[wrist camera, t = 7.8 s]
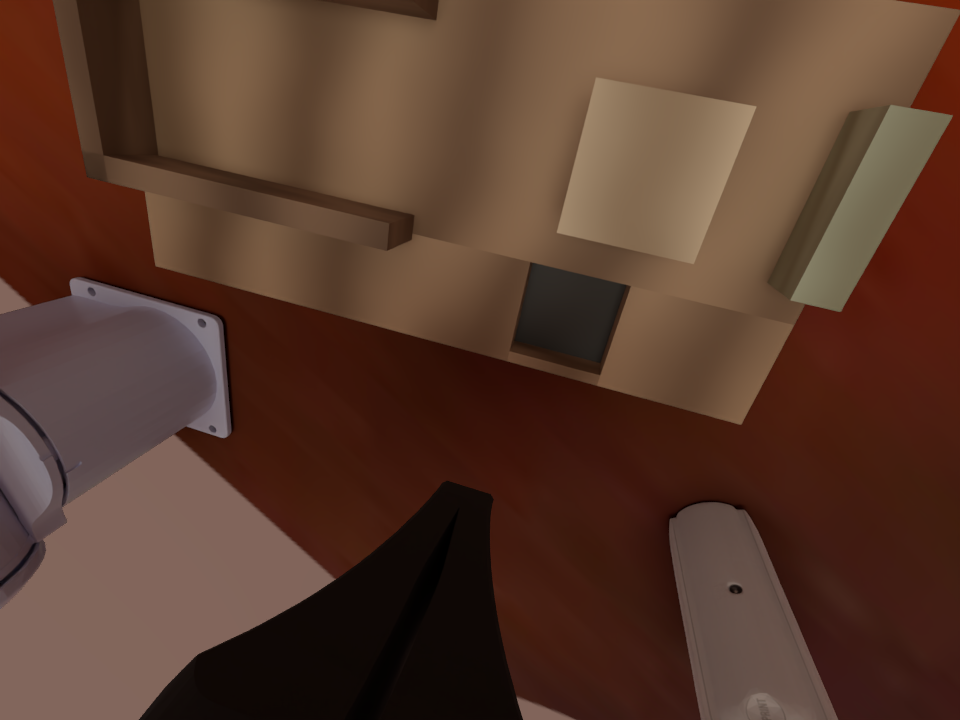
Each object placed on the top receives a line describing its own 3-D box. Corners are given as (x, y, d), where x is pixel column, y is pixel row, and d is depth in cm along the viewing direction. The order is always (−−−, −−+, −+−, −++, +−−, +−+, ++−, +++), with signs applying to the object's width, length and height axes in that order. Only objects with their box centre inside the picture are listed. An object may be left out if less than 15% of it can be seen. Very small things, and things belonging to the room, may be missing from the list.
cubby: (142, 174, 20) (87, 177, 18) (107, -70, 17) (32, -104, 14) (411, 239, 19) (386, 251, 17) (440, -16, 15) (413, -46, 13)
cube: (565, 216, 17) (556, 232, 13) (596, 95, 15) (595, 77, 12) (673, 240, 16) (693, 264, 13) (718, 118, 15) (756, 107, 11)
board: (180, 259, 24) (113, 276, 20) (138, -95, 17) (32, -153, 14) (731, 406, 20) (757, 456, 17) (926, 23, 14) (1028, -17, 11)
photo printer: (655, 504, 23) (707, 822, 12) (748, 491, 22) (906, 840, 11) (701, 644, 26) (776, 998, 15) (786, 641, 25) (937, 1032, 14)
